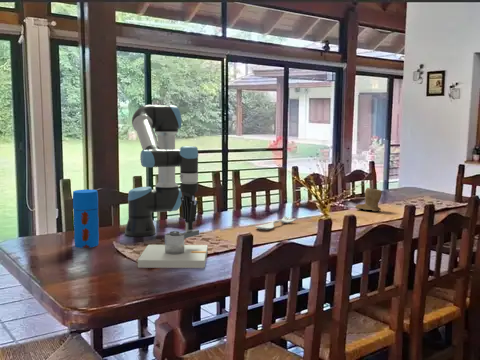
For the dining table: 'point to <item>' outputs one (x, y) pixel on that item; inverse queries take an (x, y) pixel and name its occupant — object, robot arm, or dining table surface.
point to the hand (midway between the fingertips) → (189, 236)
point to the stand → (173, 257)
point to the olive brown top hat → (371, 200)
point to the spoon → (271, 225)
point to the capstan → (177, 241)
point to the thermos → (86, 218)
